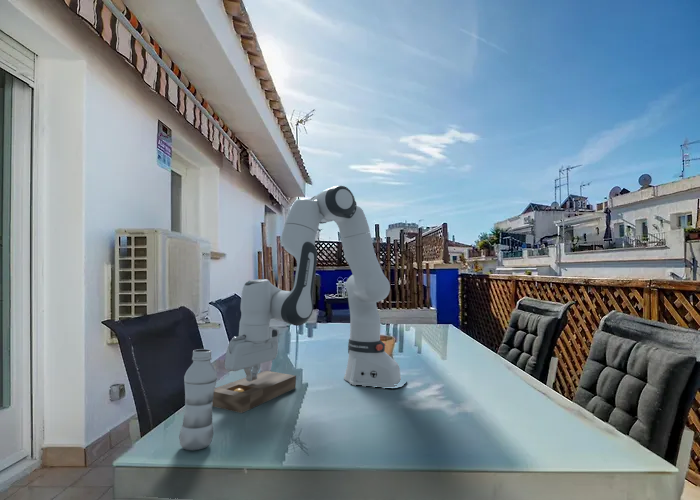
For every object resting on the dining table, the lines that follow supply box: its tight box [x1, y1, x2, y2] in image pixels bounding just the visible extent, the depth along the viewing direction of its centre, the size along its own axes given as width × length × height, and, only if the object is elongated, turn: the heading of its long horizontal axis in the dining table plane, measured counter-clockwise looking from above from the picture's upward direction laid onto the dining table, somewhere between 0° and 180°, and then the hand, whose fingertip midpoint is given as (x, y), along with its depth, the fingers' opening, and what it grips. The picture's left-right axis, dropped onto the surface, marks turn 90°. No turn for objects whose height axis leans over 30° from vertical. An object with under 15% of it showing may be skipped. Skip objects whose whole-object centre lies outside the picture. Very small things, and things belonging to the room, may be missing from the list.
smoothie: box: [259, 360, 273, 373], centre depth 143 cm, size 6×6×14 cm
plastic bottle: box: [178, 348, 218, 451], centre depth 79 cm, size 6×7×20 cm
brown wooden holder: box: [212, 370, 297, 414], centre depth 113 cm, size 12×26×4 cm, turn 155°
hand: (251, 380), depth 112 cm, fingers closed
